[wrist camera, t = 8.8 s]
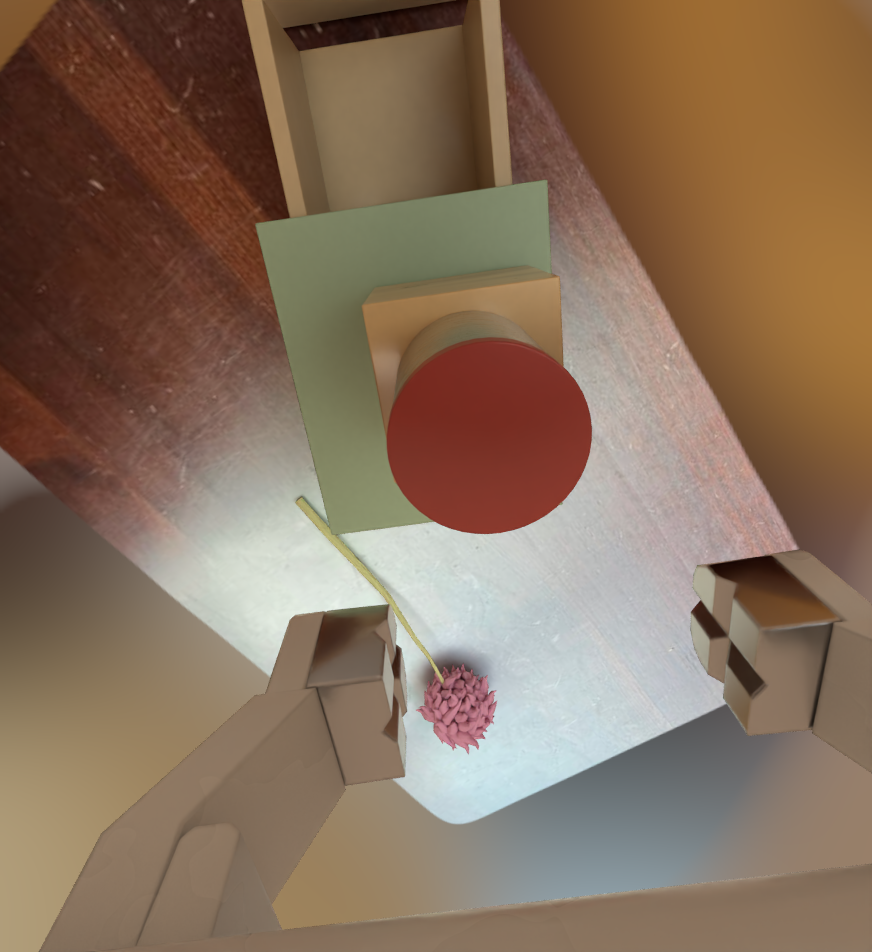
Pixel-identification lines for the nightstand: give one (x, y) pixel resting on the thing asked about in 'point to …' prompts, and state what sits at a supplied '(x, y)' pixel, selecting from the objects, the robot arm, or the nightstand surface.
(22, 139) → the nightstand surface
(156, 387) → the nightstand surface
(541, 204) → the cabinet
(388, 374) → the riser
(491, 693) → the artificial flower
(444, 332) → the tin
